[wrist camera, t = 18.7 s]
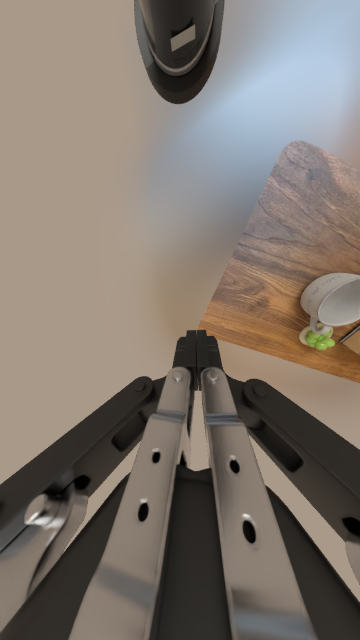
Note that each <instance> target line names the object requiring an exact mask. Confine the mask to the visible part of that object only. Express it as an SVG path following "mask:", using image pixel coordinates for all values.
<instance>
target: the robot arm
mask: <svg viewBox="0 0 360 640" xmlns="http://www.w3.org/2000/svg"><path fill="white" fill-rule="evenodd" d="M138 2H139V6H140V10H141V14H142V19H143V25H144V30H145V34H146V38H147V42H148V46H149V49H150V51H151V54H152V56H153V59H154V60H155V62H156V64H157V65H158V67H159V68H160V69H161V70H162V71H163V72H164V73H165V74H167V75H169V76H171V77H182V76H184V75H186V74H188V73H189V72H190V71H192V70H193V69H194V67H195V66H196V65H197V63H198V62H199V60H200V59H201V57H202V55H203V53H204V51H205V48H206V46H207V43H208V40H209V36H210V32H211V28H212V23H213V16H214V5H215V0H138ZM198 385H199V391H202V405H203V415H204V424H205V433H206V443H207V454H208V463H209V468H208V469H204V470H200V471H193V470H191V469H189V468H190V455H191V430H192V419H193V408H194V391H197V390H198ZM248 434H249V435H250V436H251V437H252V438H253V439H254V440H255V441H256V443H257V444H258V445H259V446H260V447H261V448H262V449H263V450H264V452H265V453H266V454H267V455H268V456H269V457H270V458H271V459H272V461H273V462H274V463H275V464H276V465H277V466H278V467H279V468H280V470H281V471H282V472H283V473H284V474H285V475H286V476H287V477H288V479H289V480H290V481H291V482H292V483H293V484H294V485H295V486H296V487H297V489H298V490H299V491H300V492H301V493H302V494H303V495H304V497H306V499H307V500H308V501H309V502H310V503H311V504H312V506H313V507H314V508H315V509H316V510H317V511H318V512H319V513H320V514H321V516H322V517H323V518H324V519H325V520H326V521H327V522H328V524H329V525H330V526H331V527H332V528H333V529H334V530H335V531H336V532H337V534H338V535H339V536H340V537H341V538H342V539H343V540H344V541H345V543H346V552H347V556H348V560H349V563H350V565H351V568H352V570H353V572H354V574H355V576H356V579H357V580H358V582H359V584H360V450H359V449H358V448H356V447H355V446H354V445H352V444H350V443H349V442H348V441H347V440H345V439H344V438H342V437H341V436H340V435H338V434H337V433H336V432H334V431H333V430H331V429H330V428H328V427H327V426H326V425H324V424H323V423H322V422H320V421H319V420H317V419H316V418H315V417H313V416H311V414H309V413H308V412H306V411H305V410H304V409H302V408H301V407H299V406H298V405H297V404H295V403H294V402H292V401H291V400H290V399H288V398H287V397H286V396H284V395H283V394H281V393H280V392H279V391H277V390H276V389H274V388H273V387H272V386H270V385H269V384H267V383H266V382H264V381H262V380H258V379H249V380H247V381H246V382H242V381H238V380H235V379H233V378H231V377H229V376H228V375H227V374H226V373H225V372H224V370H223V367H222V363H221V358H220V353H219V348H218V344H217V340H216V339H215V337H214V336H207V334H206V330H197V335H196V330H189V331H187V335H186V337H180V339H179V340H178V341H177V346H176V352H175V356H174V361H173V367H172V369H171V370H170V371H169V372H168V374H167V376H165V377H163V378H160V379H157V380H154V381H152V380H151V378H149V377H146V376H142V377H139V378H137V379H135V380H134V381H133V382H131V383H130V384H129V385H127V386H126V387H125V388H124V389H122V390H121V391H120V392H118V393H117V394H116V395H115V396H113V397H112V398H111V399H110V400H108V401H107V402H106V403H104V404H103V405H102V406H101V407H99V408H98V409H97V410H95V411H94V412H93V413H92V414H90V415H89V416H88V417H86V418H85V419H84V420H83V421H81V422H80V423H79V424H78V425H76V426H75V427H74V428H72V429H71V430H70V431H68V432H67V433H66V434H65V435H63V436H62V437H61V438H60V439H58V440H57V441H56V442H54V443H53V444H52V445H51V446H50V447H48V448H47V449H46V450H44V451H43V452H42V453H40V454H39V455H38V456H37V457H35V458H34V459H33V460H31V461H30V462H29V463H28V464H26V465H25V466H24V467H22V468H21V469H20V470H19V471H17V472H16V473H15V474H13V475H12V476H11V477H10V478H8V479H7V480H6V481H4V482H3V483H2V484H1V485H0V640H360V602H359V601H358V599H357V598H356V597H355V596H354V594H353V593H352V592H351V590H350V589H349V588H348V586H347V585H346V584H345V582H344V581H343V580H342V578H341V577H340V576H339V574H338V573H337V572H336V570H335V569H334V568H333V566H332V565H331V564H330V563H329V561H328V560H327V558H326V557H325V556H324V554H323V553H322V552H321V551H320V549H319V548H318V547H317V545H316V544H315V543H314V541H313V540H312V539H311V537H310V536H309V535H308V533H307V532H306V531H305V529H304V528H303V527H302V525H301V524H300V523H299V521H298V520H297V519H296V517H295V516H294V515H293V513H292V512H291V511H290V510H289V508H288V507H287V506H286V505H285V504H284V502H283V501H282V500H281V499H280V498H279V497H278V496H277V495H276V494H275V493H274V492H273V491H272V490H271V489H270V488H269V487H267V486H266V485H265V484H264V481H263V478H262V475H261V472H260V469H259V466H258V463H257V459H256V456H255V453H254V450H253V448H252V445H251V441H250V438H249V435H248ZM140 441H141V443H140V446H139V449H138V452H137V455H136V458H135V461H134V464H133V467H132V471H131V472H130V473H129V474H128V475H126V476H125V477H124V479H122V481H121V482H120V483H119V484H118V485H117V486H116V488H115V489H114V490H113V491H112V493H111V494H110V495H109V496H108V498H107V499H106V500H105V501H104V503H103V504H102V505H101V506H100V508H99V509H98V510H97V512H96V513H95V514H94V515H93V517H92V518H91V519H90V520H89V522H88V523H87V524H86V525H85V527H84V528H83V529H82V530H81V532H80V533H79V534H78V535H77V537H76V538H75V539H74V540H73V542H72V543H71V544H70V546H69V547H68V548H67V549H66V551H65V552H64V553H63V551H64V549H65V547H66V546H67V544H68V542H69V541H70V539H71V538H72V537H73V535H74V534H75V532H76V531H77V529H78V528H79V526H80V525H81V524H82V522H83V520H84V518H85V515H86V509H87V504H88V498H89V497H90V496H91V495H92V494H93V493H94V492H95V490H97V488H98V487H99V486H100V485H101V484H102V483H103V482H104V481H105V479H106V478H107V477H108V476H109V475H110V474H111V473H112V472H113V470H114V469H115V468H116V467H117V466H118V465H119V464H120V463H121V462H122V461H123V460H124V458H125V457H126V456H127V455H128V454H129V453H130V452H131V451H132V450H133V448H134V447H135V446H136V445H137V444H138V443H139V442H140ZM62 553H63V554H62ZM61 555H62V556H61Z"/></svg>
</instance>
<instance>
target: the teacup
mask: <svg viewBox="0 0 360 640" xmlns="http://www.w3.org/2000/svg"><path fill="white" fill-rule="evenodd" d="M300 302H301V306H302V308H303V310H304V311H305V312H307V313H308V314H309V315H310V317H311V319H310V328H311V330H312V331H313V332H314V333H316V334H320V335H323V334H327V333H328V332H329V331H330V330H331V326H341V325H347V324H350V323H353V322H355V321H357V320H359V319H360V275H355V274H348V273H332V274H327V275H324V276H322V277H320V278H318V279H316V280H314V281H313V282H312V283H311V284H309V285H308V286H307V287H306V289H305V290H304V292H303V293H302V296H301V300H300ZM317 319H318V320H319V321H320V322H321V323H322V325H323V328H322V330H319V329H318V327H317Z"/></svg>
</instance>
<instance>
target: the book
mask: <svg viewBox="0 0 360 640" xmlns="http://www.w3.org/2000/svg"><path fill="white" fill-rule="evenodd" d="M340 343H342V344H344V345H346V346H347V347H348V348H350V349H351V350H353V351H354V352H355V353H357V354H358V356H360V326H358V327H357V328H356V329H355V330H353V331H352V332H351V333H350V334H348V335H347V336H346V337H345V338H344V339H342V340H341V341H340Z"/></svg>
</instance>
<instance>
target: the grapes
mask: <svg viewBox="0 0 360 640" xmlns="http://www.w3.org/2000/svg"><path fill="white" fill-rule="evenodd" d="M317 327H318V329H319V330H322V328H323V325H322V323H321V322H318V323H317ZM332 333H333V328H332V326H331V330H330V331H329V332H328V333H327V334H323V335H320V334H316V333H314V332H313V331H312V330H311V328H310V325H308V326H307V327H305V328H304V329H303V330H302V331H301V332H300V334H299V340H300V341H301V342H302V343H303V344H305V345H309V346H310V347H313V348H317V349H318V350H326V349H327V348H328V347H333V346H334V345H335V341H334V340H333V339H331V338H330V337H331V335H332Z"/></svg>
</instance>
